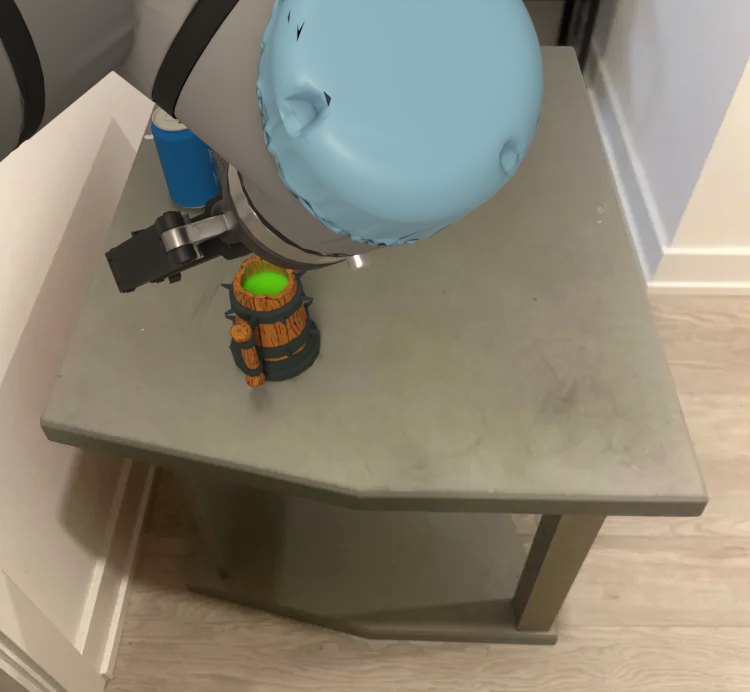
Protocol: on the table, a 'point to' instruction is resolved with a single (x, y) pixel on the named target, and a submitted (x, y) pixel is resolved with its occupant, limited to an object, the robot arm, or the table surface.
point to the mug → (270, 323)
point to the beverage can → (184, 162)
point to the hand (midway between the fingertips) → (260, 233)
